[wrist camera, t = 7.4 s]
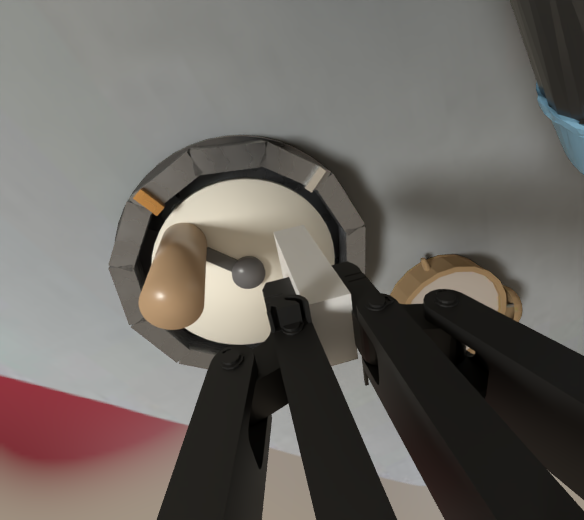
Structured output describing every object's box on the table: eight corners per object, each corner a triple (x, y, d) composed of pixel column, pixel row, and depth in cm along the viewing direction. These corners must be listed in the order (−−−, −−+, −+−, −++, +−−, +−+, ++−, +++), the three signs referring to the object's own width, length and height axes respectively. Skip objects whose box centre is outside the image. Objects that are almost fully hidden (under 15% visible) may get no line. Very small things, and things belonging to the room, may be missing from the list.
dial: (362, 229, 29) (425, 282, 20) (278, 356, 32) (300, 445, 24) (203, 139, 23) (198, 159, 15) (124, 304, 27) (83, 395, 19)
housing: (268, 74, 24) (277, 70, 20) (391, 268, 33) (411, 286, 30) (58, 245, 26) (35, 265, 22) (229, 384, 35) (231, 414, 31)
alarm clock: (442, 245, 30) (564, 313, 33) (419, 230, 34) (528, 291, 37) (372, 343, 33) (490, 397, 36) (360, 318, 37) (465, 368, 40)
